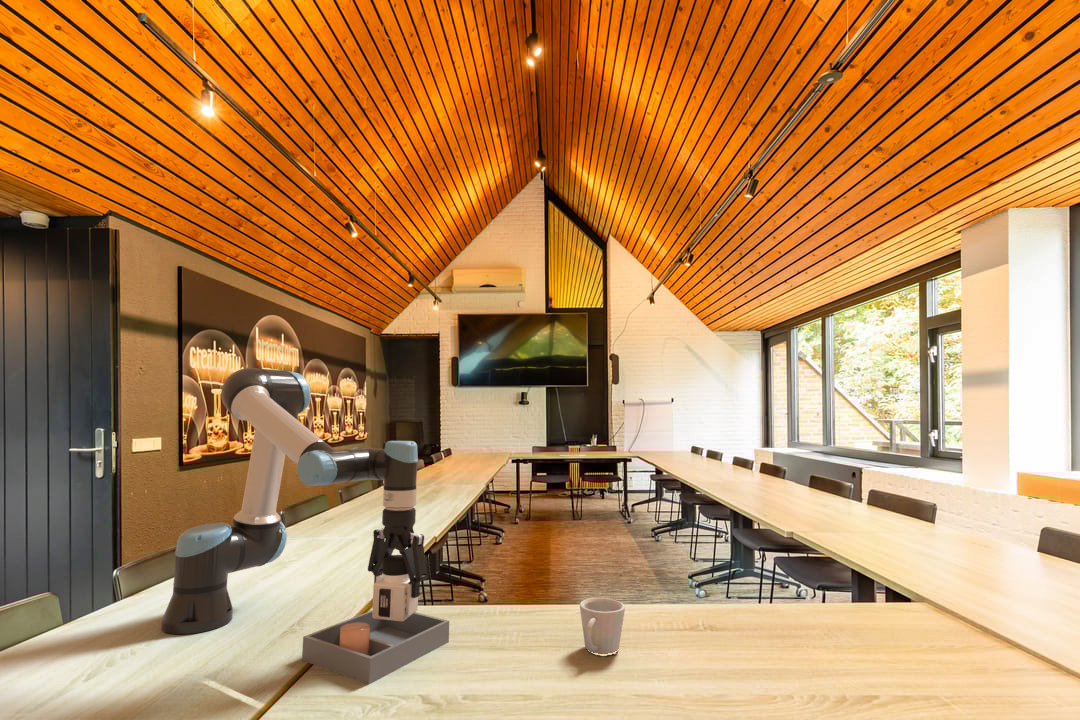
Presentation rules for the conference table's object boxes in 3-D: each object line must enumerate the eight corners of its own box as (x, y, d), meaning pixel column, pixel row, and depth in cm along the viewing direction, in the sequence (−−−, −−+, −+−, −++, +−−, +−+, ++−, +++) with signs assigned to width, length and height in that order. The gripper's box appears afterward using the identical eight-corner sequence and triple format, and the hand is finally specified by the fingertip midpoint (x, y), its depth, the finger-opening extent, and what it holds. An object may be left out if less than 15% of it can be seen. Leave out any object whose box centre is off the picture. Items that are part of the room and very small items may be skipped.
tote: (301, 663, 118) (303, 636, 119) (385, 627, 139) (386, 604, 139) (369, 688, 108) (370, 658, 109) (448, 645, 129) (449, 620, 129)
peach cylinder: (332, 664, 116) (334, 629, 117) (354, 653, 122) (356, 620, 122) (352, 671, 113) (354, 635, 114) (374, 660, 119) (376, 626, 119)
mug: (630, 645, 131) (630, 601, 132) (610, 671, 117) (611, 622, 118) (588, 637, 135) (588, 594, 136) (564, 661, 122) (565, 613, 123)
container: (403, 622, 123) (405, 561, 125) (371, 619, 125) (374, 559, 126) (418, 610, 131) (420, 553, 132) (387, 607, 133) (389, 551, 134)
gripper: (354, 505, 133) (349, 604, 130) (424, 514, 122) (420, 622, 120) (377, 501, 139) (373, 595, 137) (446, 509, 128) (443, 611, 126)
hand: (395, 607), depth 128 cm, fingers closed on container, 9 cm apart
